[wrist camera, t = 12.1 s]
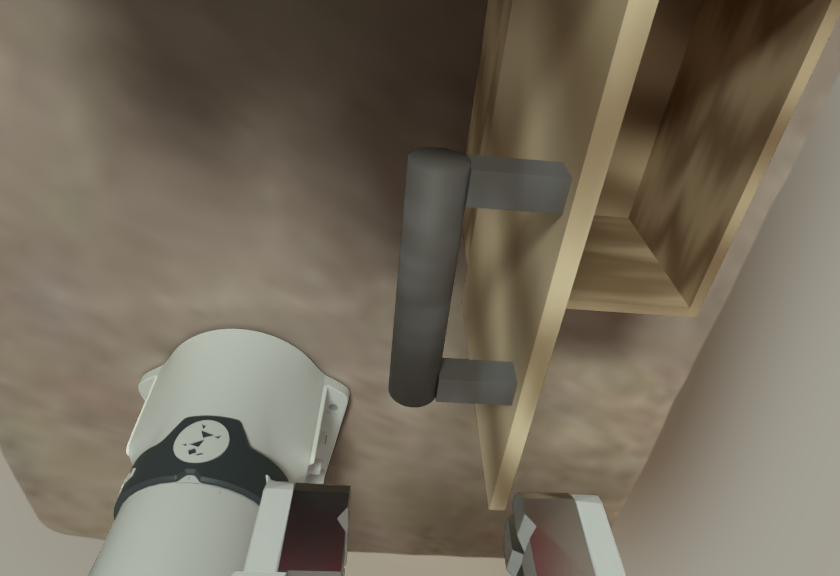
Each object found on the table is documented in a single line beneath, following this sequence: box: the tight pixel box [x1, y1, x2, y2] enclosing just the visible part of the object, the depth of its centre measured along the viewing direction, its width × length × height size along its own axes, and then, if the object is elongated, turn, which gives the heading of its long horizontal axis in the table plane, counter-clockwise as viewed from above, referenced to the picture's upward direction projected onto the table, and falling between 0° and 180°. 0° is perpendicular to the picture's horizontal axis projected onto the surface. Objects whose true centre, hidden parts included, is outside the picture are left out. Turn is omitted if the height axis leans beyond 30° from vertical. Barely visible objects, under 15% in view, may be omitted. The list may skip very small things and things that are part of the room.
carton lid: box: [389, 0, 659, 510], centre depth 21 cm, size 18×13×5 cm
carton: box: [462, 0, 840, 317], centre depth 32 cm, size 18×13×12 cm
